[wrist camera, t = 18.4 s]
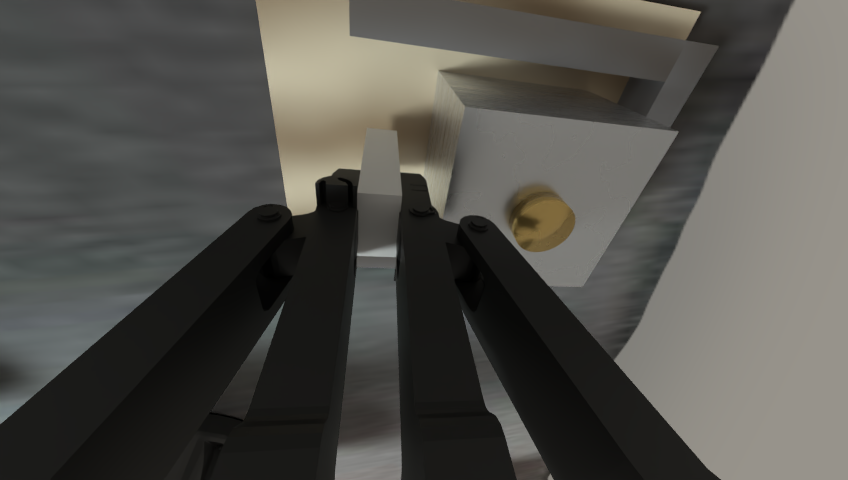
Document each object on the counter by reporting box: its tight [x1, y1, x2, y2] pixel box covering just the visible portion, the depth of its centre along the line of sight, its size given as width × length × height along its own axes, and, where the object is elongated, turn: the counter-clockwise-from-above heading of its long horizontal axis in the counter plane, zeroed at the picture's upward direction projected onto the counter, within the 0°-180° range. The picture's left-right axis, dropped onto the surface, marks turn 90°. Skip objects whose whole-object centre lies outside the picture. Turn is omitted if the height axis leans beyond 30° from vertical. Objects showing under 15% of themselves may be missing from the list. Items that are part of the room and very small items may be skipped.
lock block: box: [423, 71, 679, 287], centre depth 15 cm, size 8×8×7 cm
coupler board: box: [256, 0, 719, 268], centre depth 17 cm, size 16×20×4 cm
